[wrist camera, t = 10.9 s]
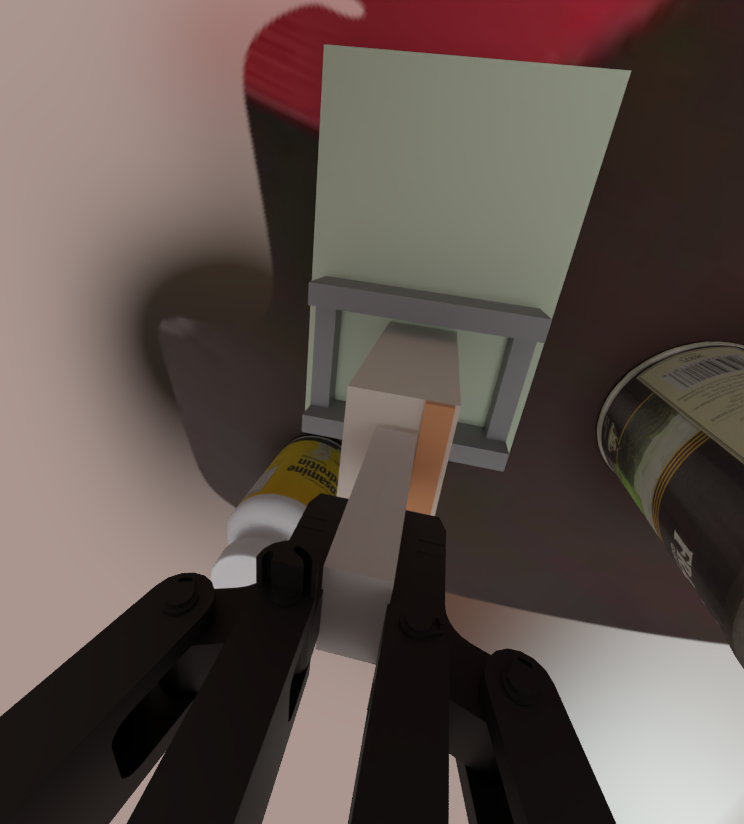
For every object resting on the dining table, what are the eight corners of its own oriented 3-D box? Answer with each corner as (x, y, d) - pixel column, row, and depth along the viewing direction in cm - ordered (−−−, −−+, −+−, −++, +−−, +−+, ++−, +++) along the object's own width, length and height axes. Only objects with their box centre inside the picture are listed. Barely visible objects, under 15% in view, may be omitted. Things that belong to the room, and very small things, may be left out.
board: (330, 54, 20) (303, 13, 16) (620, 79, 18) (664, 41, 15) (310, 409, 29) (289, 436, 25) (506, 446, 27) (515, 481, 23)
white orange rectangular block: (390, 321, 24) (345, 388, 14) (456, 331, 23) (461, 409, 13) (379, 396, 26) (334, 503, 16) (440, 407, 26) (433, 524, 15)
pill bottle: (374, 490, 31) (335, 623, 20) (305, 511, 33) (238, 642, 22) (335, 419, 29) (269, 527, 18) (264, 447, 31) (170, 558, 21)
